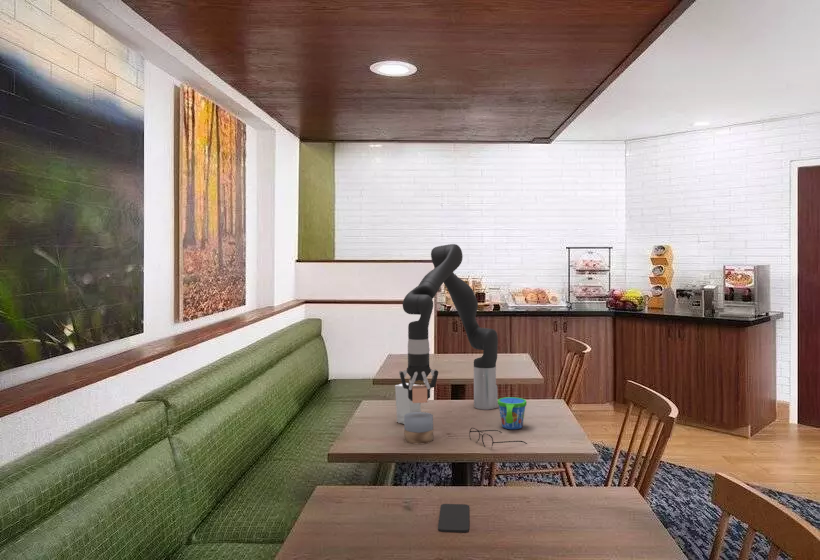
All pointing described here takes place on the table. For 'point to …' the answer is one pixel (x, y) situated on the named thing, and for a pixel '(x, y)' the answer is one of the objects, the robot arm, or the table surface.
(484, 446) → the glasses
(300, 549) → the table surface
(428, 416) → the slate top puck
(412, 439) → the disc
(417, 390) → the terracotta cube
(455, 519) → the phone
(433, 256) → the robot arm
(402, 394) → the skincare box
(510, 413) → the snack cup
